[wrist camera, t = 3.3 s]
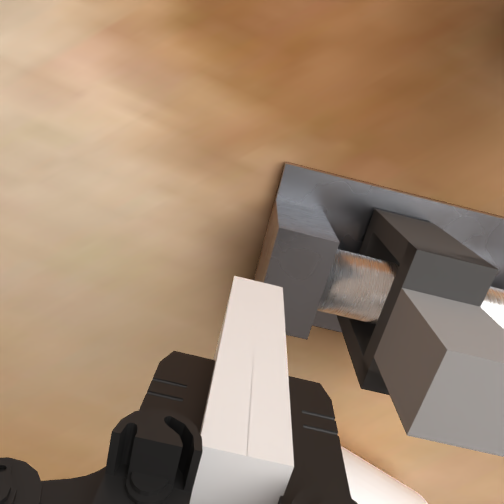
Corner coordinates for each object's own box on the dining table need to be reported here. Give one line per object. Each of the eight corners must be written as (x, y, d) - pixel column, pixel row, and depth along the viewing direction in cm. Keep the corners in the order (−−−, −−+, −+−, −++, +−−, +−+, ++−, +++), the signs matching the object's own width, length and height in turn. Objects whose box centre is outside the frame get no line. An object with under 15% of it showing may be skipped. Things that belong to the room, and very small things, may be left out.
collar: (336, 315, 22) (389, 473, 13) (374, 208, 20) (470, 301, 11) (390, 328, 22) (481, 493, 13) (433, 223, 20) (578, 327, 11)
